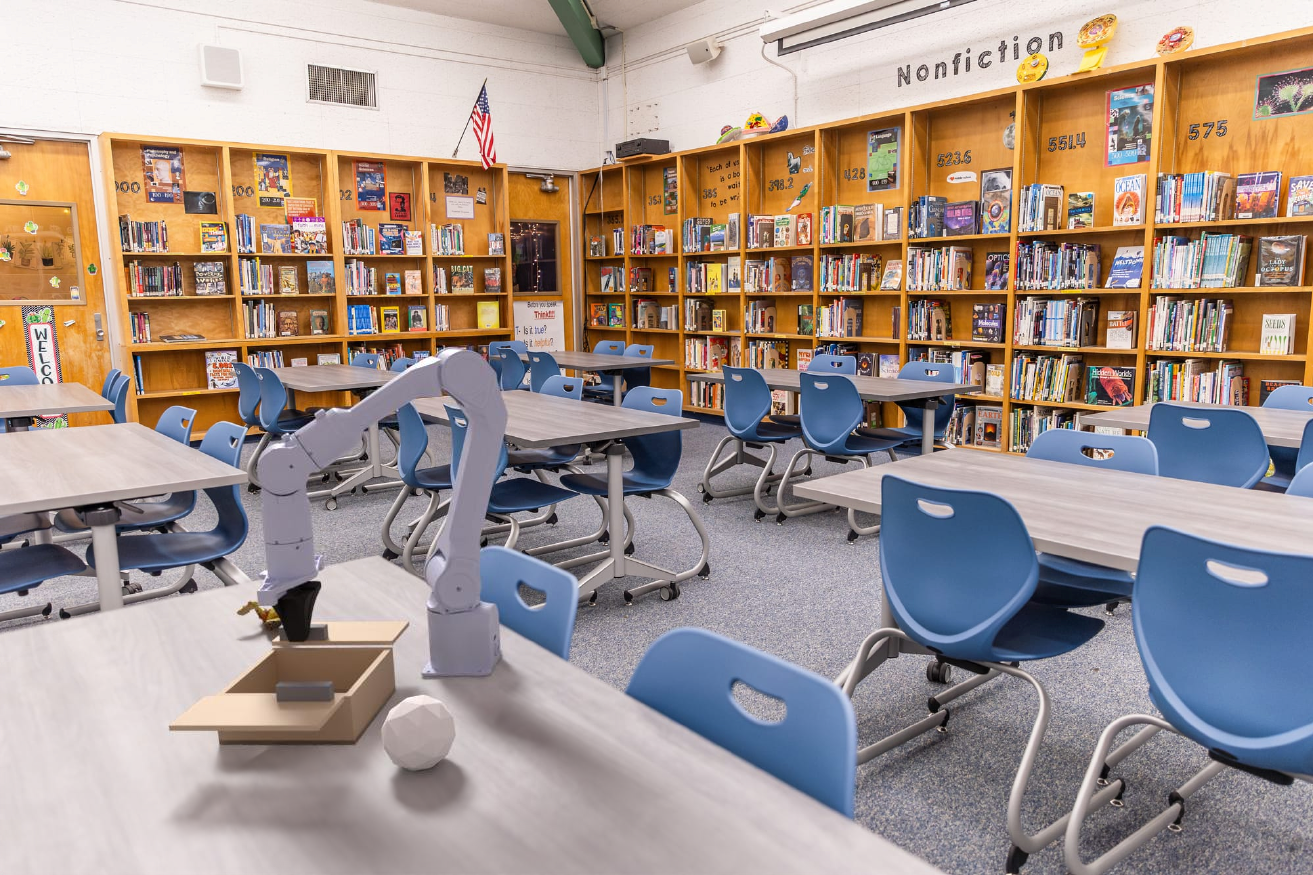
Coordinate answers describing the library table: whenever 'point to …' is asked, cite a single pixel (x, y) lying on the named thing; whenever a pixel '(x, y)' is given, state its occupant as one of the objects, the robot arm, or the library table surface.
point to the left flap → (264, 710)
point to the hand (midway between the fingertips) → (298, 640)
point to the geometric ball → (418, 732)
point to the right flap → (347, 634)
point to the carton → (351, 670)
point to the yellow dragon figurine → (260, 613)
